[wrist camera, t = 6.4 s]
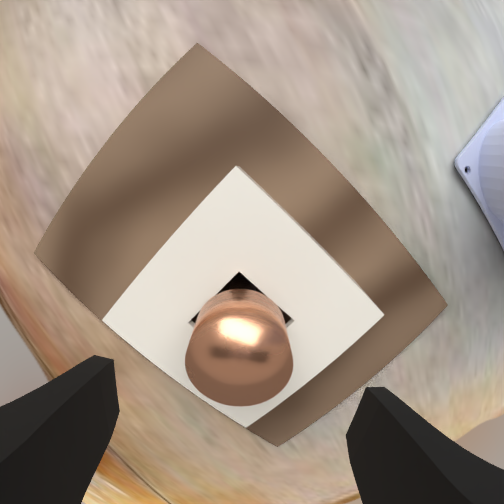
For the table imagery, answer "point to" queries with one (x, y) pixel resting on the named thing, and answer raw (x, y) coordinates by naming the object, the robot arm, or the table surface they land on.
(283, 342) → the plunger
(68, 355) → the table surface
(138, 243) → the board
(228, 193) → the hollow square block
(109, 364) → the robot arm
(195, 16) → the table surface
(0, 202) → the table surface
